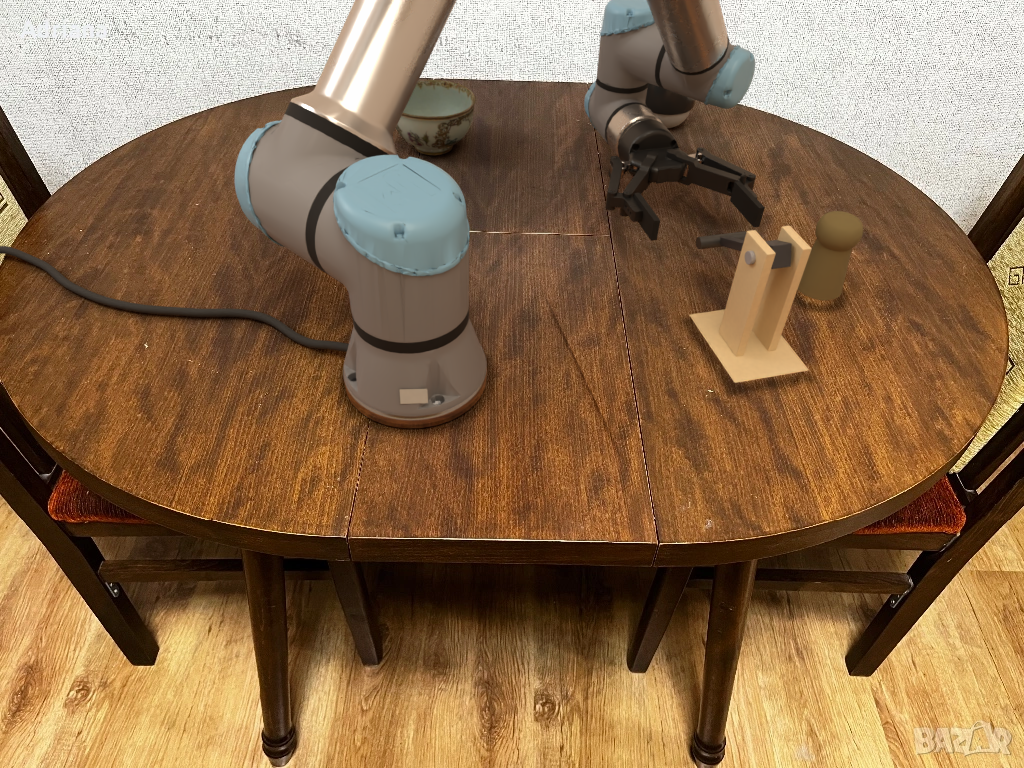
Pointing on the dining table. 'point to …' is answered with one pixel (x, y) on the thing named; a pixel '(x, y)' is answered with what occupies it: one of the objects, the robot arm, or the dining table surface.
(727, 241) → the lever
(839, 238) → the cork
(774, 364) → the bracket
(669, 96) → the brown white egg shape
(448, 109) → the bowl
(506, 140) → the dining table surface
